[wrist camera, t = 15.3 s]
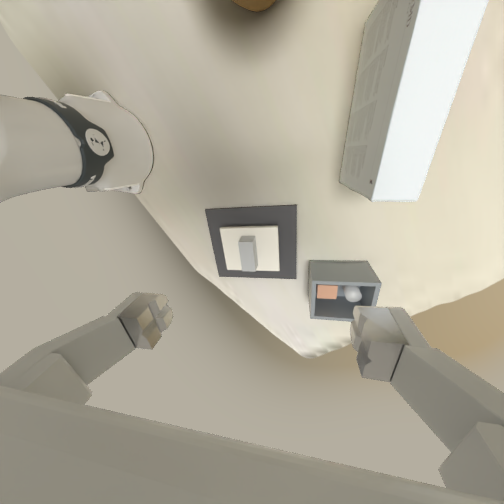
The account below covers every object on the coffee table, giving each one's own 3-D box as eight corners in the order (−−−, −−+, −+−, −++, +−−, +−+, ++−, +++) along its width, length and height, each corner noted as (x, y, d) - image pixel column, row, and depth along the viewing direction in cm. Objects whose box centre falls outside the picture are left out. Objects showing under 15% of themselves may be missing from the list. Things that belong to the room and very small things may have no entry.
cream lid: (230, 264, 49) (222, 277, 44) (223, 224, 44) (214, 234, 39) (280, 265, 46) (278, 279, 41) (278, 223, 41) (276, 233, 36)
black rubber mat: (219, 275, 52) (219, 276, 51) (205, 209, 44) (205, 209, 43) (296, 277, 47) (296, 279, 47) (296, 204, 39) (296, 205, 39)
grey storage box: (308, 294, 49) (310, 318, 42) (309, 260, 44) (312, 280, 37) (360, 297, 46) (371, 323, 39) (367, 261, 42) (381, 283, 35)
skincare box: (370, 182, 35) (418, 204, 21) (338, 182, 36) (364, 203, 22) (410, 12, 25) (548, -153, 11) (365, 19, 26) (441, -124, 12)
